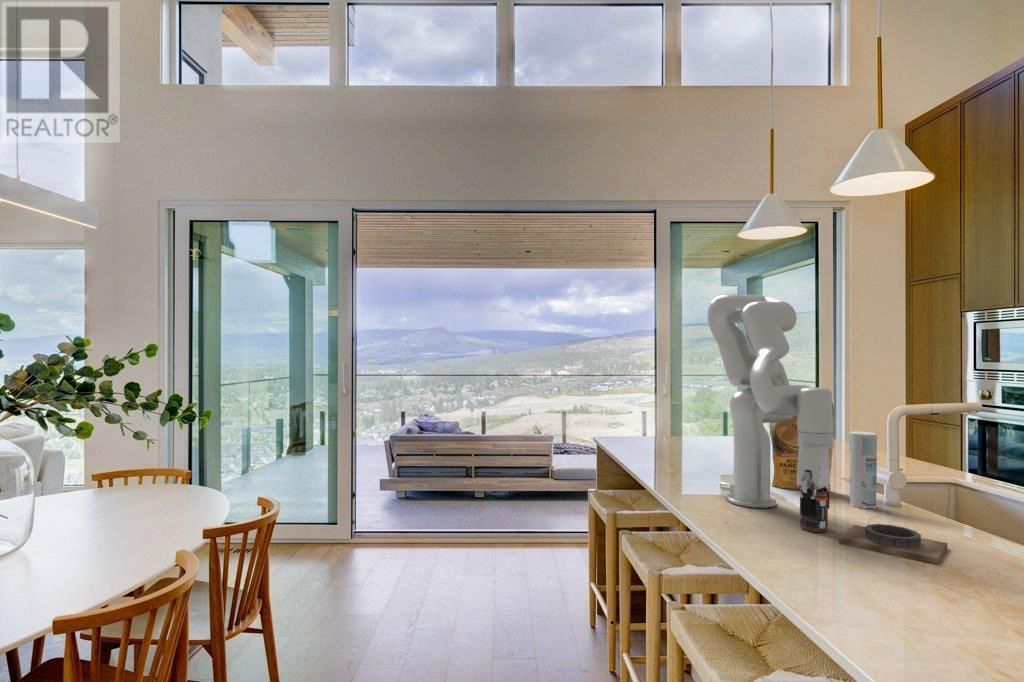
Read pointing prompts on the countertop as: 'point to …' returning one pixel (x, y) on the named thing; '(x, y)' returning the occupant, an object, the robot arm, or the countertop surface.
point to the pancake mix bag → (788, 452)
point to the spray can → (863, 468)
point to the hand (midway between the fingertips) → (815, 511)
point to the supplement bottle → (821, 519)
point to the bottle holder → (894, 542)
